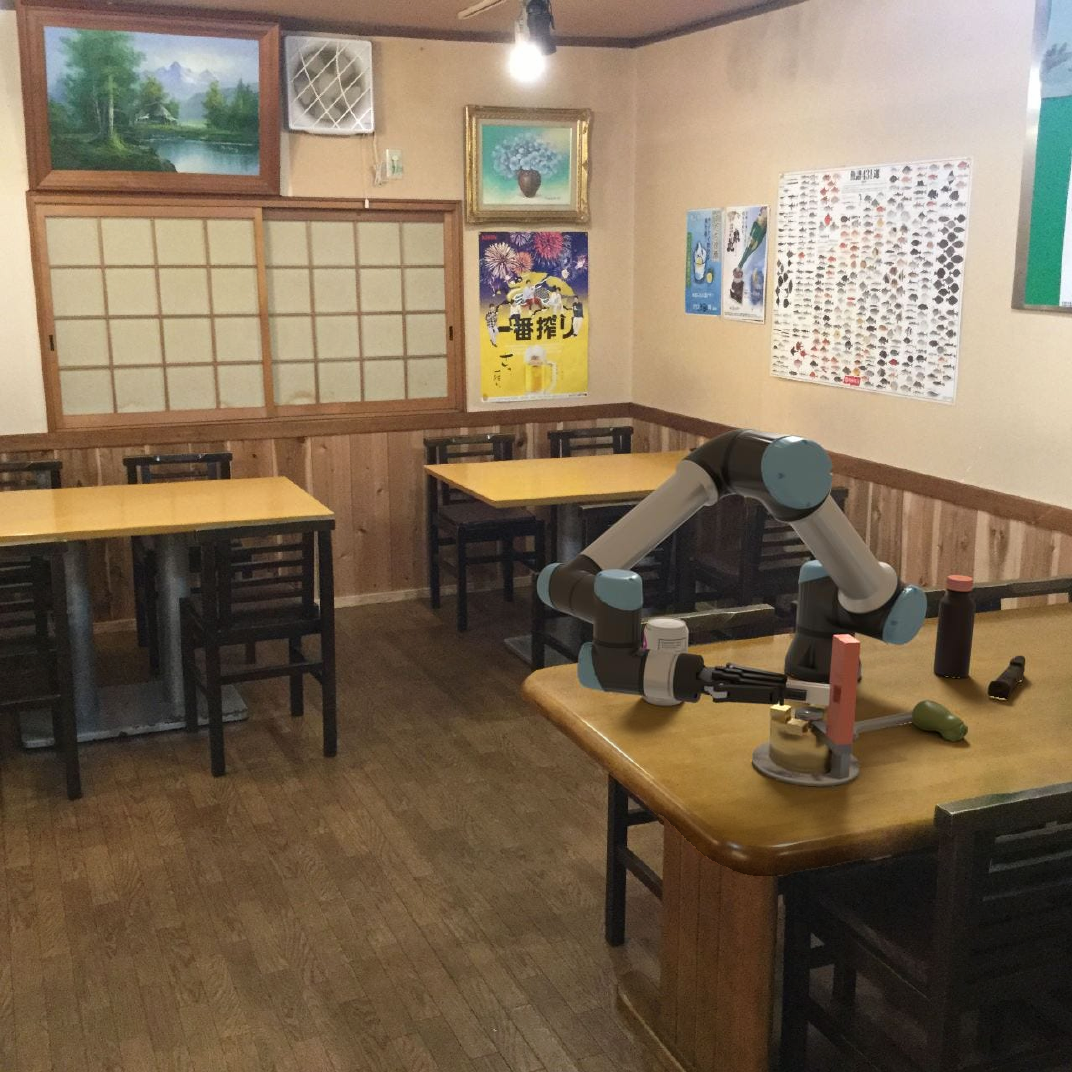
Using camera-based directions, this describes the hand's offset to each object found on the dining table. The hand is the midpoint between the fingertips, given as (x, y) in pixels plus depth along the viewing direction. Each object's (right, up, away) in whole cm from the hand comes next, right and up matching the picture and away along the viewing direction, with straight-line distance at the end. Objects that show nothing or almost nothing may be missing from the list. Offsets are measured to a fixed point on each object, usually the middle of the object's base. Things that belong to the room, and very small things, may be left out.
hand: (829, 695), depth 177 cm
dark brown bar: (+48, -6, +54) cm, 73 cm away
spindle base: (0, -13, +14) cm, 19 cm away
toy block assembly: (0, -13, +11) cm, 17 cm away
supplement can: (-20, -7, +43) cm, 48 cm away
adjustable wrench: (+16, -11, +31) cm, 36 cm away
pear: (+27, -11, +29) cm, 41 cm away
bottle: (+40, -4, +61) cm, 73 cm away
